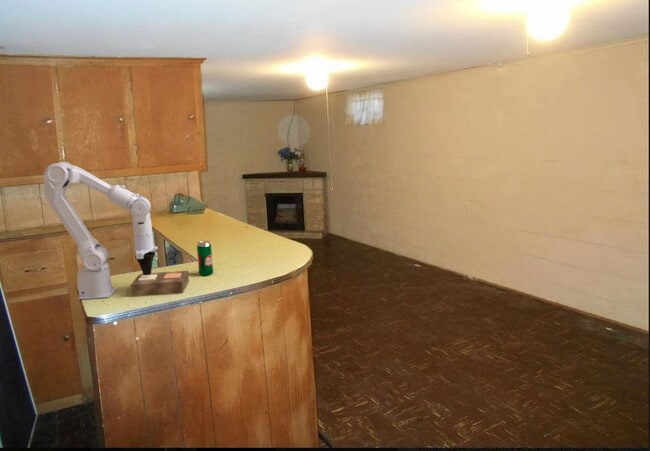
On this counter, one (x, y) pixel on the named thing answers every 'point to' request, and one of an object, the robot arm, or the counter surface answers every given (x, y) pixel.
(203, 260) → the soda can
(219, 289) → the counter surface
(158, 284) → the key console
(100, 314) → the counter surface
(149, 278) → the offwhite key
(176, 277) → the terracotta key
